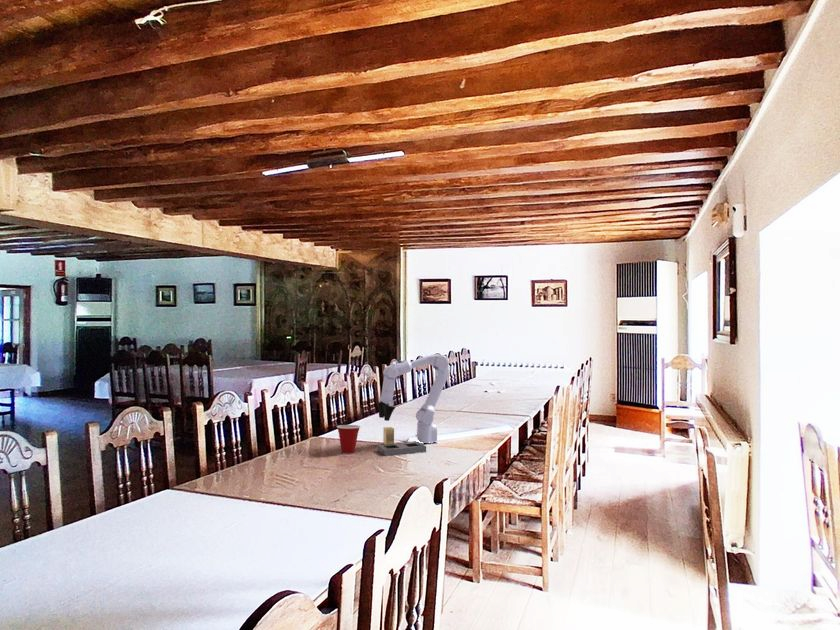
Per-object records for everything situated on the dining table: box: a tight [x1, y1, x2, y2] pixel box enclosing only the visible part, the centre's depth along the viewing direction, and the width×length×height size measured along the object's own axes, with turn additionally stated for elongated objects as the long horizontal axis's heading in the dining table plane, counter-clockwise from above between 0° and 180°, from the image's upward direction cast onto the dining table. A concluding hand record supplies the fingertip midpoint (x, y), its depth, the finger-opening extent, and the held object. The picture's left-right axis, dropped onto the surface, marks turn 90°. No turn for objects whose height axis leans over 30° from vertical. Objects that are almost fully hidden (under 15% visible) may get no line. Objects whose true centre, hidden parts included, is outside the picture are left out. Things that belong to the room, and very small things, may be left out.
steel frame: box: [377, 441, 427, 456], centre depth 247 cm, size 20×10×2 cm, turn 113°
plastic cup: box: [336, 424, 361, 454], centre depth 246 cm, size 11×11×12 cm
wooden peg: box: [382, 426, 395, 445], centre depth 261 cm, size 4×4×8 cm
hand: (384, 419), depth 260 cm, fingers open, 7 cm apart
